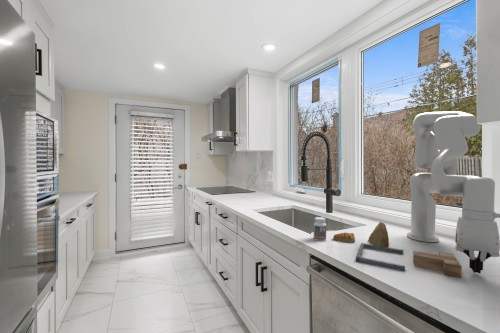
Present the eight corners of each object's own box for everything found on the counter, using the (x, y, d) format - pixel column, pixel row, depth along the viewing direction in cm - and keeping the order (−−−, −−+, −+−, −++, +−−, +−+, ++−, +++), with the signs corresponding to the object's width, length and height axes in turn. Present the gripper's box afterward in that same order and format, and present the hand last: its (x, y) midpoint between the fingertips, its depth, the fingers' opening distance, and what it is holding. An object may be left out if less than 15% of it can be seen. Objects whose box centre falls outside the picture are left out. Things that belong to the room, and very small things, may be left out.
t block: (412, 257, 92) (412, 247, 92) (452, 265, 86) (453, 253, 86) (415, 269, 82) (415, 258, 82) (461, 278, 76) (461, 266, 76)
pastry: (334, 242, 111) (334, 233, 111) (332, 237, 117) (332, 229, 117) (356, 243, 109) (356, 235, 109) (353, 239, 115) (353, 231, 115)
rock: (396, 246, 98) (395, 236, 107) (382, 228, 100) (382, 220, 108) (372, 257, 103) (373, 247, 112) (359, 240, 105) (360, 231, 113)
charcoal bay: (361, 246, 104) (361, 243, 104) (402, 253, 97) (402, 249, 97) (355, 261, 89) (355, 257, 88) (405, 271, 81) (405, 266, 81)
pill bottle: (328, 240, 112) (329, 219, 112) (317, 241, 110) (318, 220, 110) (321, 237, 117) (321, 216, 117) (311, 237, 116) (311, 217, 115)
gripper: (504, 216, 78) (503, 272, 78) (445, 210, 85) (444, 262, 86) (515, 220, 71) (513, 282, 72) (450, 214, 79) (448, 270, 79)
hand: (475, 271), depth 79 cm, fingers closed
